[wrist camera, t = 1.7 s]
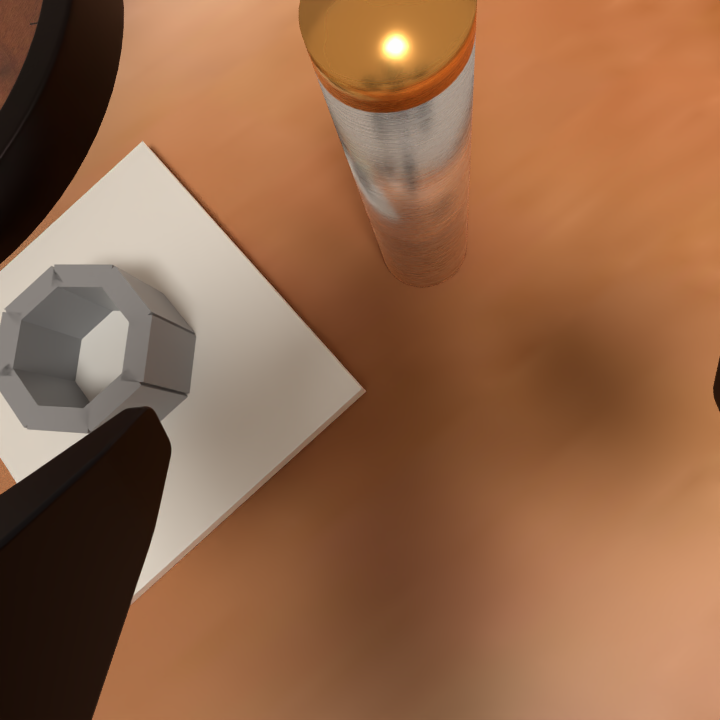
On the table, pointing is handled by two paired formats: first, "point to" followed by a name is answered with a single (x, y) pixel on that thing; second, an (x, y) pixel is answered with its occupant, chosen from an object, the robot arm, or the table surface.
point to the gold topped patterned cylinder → (402, 120)
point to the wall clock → (50, 101)
